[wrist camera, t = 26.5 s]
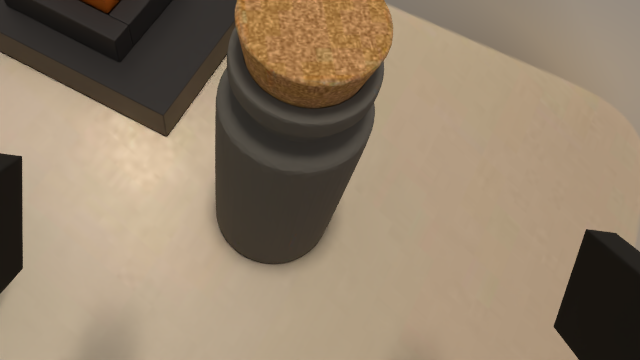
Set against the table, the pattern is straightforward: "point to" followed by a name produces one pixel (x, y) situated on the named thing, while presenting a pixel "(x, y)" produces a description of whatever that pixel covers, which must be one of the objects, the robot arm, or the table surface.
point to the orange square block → (102, 4)
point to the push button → (123, 50)
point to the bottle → (294, 118)
